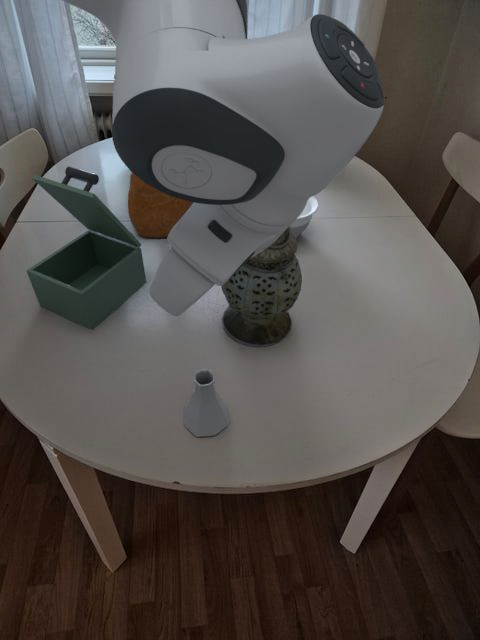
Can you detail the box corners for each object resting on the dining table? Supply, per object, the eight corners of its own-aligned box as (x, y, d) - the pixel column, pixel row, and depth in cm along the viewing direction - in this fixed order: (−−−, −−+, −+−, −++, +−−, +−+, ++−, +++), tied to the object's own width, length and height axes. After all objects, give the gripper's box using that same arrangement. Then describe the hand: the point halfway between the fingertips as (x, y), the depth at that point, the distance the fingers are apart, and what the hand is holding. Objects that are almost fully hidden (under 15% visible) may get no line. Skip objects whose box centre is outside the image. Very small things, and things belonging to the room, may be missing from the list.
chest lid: (92, 197, 69) (107, 171, 70) (31, 178, 73) (46, 153, 74) (140, 247, 85) (152, 225, 86) (87, 229, 90) (99, 208, 91)
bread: (198, 196, 120) (196, 134, 108) (203, 238, 105) (200, 171, 93) (135, 198, 118) (125, 136, 107) (130, 241, 103) (118, 173, 91)
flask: (176, 407, 69) (171, 367, 62) (218, 393, 71) (218, 352, 64) (192, 445, 64) (188, 405, 57) (236, 427, 66) (238, 387, 59)
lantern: (290, 299, 88) (306, 185, 71) (297, 350, 78) (318, 232, 61) (222, 298, 88) (222, 184, 71) (220, 349, 78) (219, 229, 61)
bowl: (325, 231, 108) (331, 200, 102) (289, 259, 99) (293, 226, 93) (274, 210, 115) (277, 180, 110) (236, 234, 106) (237, 202, 100)
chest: (92, 330, 81) (81, 294, 75) (40, 306, 85) (25, 270, 79) (146, 282, 91) (141, 247, 85) (97, 263, 96) (89, 229, 90)
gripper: (272, 130, 46) (223, 205, 57) (157, 242, 35) (125, 307, 46) (316, 170, 46) (259, 236, 58) (217, 293, 35) (170, 344, 47)
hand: (198, 268), depth 52 cm, fingers open, 8 cm apart
